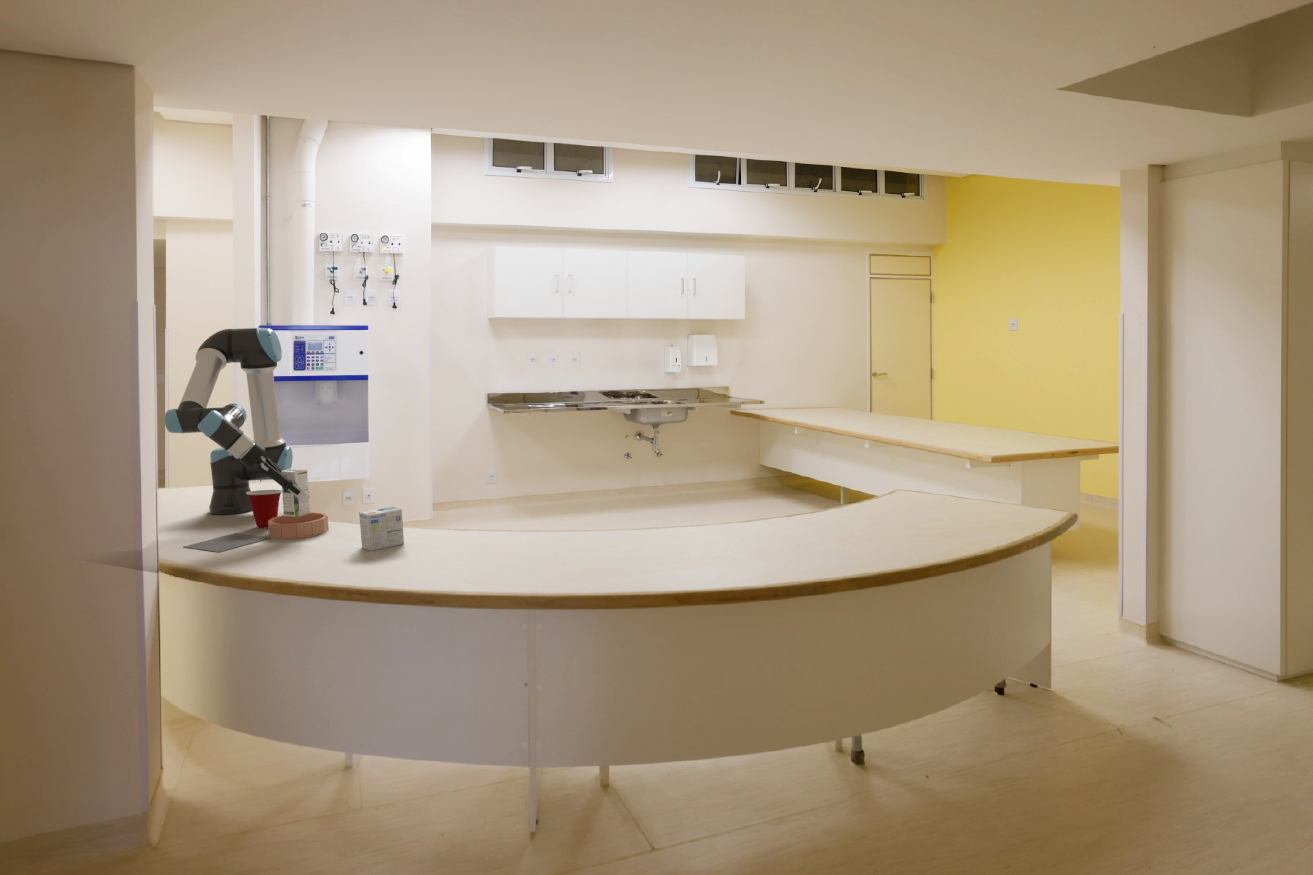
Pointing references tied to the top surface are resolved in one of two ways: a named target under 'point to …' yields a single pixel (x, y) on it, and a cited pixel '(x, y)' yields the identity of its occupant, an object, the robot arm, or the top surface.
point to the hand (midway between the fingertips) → (307, 497)
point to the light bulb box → (381, 528)
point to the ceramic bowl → (298, 526)
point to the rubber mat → (227, 542)
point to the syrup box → (290, 501)
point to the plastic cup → (264, 505)
